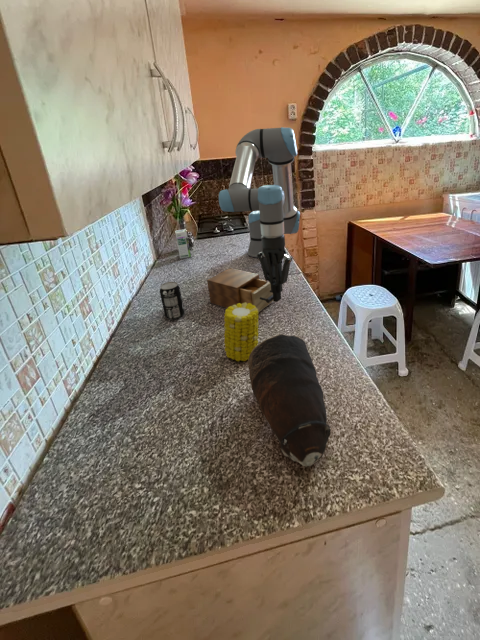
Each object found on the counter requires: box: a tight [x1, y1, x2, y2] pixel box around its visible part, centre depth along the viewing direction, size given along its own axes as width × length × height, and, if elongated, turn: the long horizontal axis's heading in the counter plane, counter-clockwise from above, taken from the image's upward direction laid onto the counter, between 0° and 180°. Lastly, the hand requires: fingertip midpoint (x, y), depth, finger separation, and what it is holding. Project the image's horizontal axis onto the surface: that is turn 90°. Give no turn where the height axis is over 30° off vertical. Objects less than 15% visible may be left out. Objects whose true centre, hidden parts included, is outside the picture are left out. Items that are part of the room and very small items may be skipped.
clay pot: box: [247, 333, 332, 467], centre depth 64 cm, size 15×15×25 cm
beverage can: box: [159, 281, 185, 321], centre depth 108 cm, size 7×7×12 cm
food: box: [223, 302, 260, 362], centre depth 87 cm, size 15×12×10 cm
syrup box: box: [174, 228, 192, 260], centre depth 166 cm, size 6×6×14 cm
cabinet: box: [206, 267, 260, 309], centre depth 117 cm, size 15×13×10 cm
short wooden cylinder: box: [245, 287, 259, 300], centre depth 114 cm, size 6×6×4 cm
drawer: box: [239, 278, 274, 313], centre depth 112 cm, size 18×11×8 cm, turn 58°
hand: (277, 299), depth 107 cm, fingers closed
